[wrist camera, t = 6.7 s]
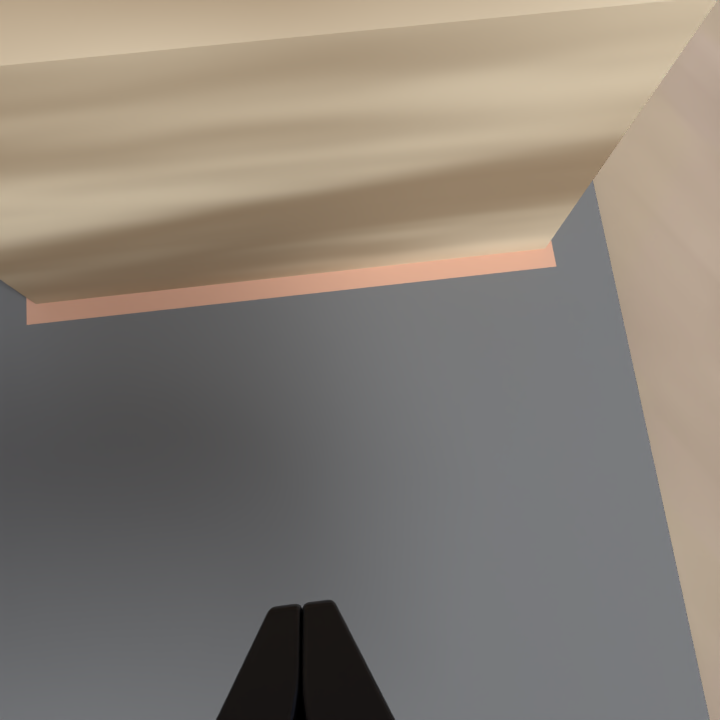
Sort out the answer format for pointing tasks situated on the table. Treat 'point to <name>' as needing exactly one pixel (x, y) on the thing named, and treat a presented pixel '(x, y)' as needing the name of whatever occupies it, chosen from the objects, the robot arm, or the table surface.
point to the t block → (305, 132)
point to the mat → (341, 491)
